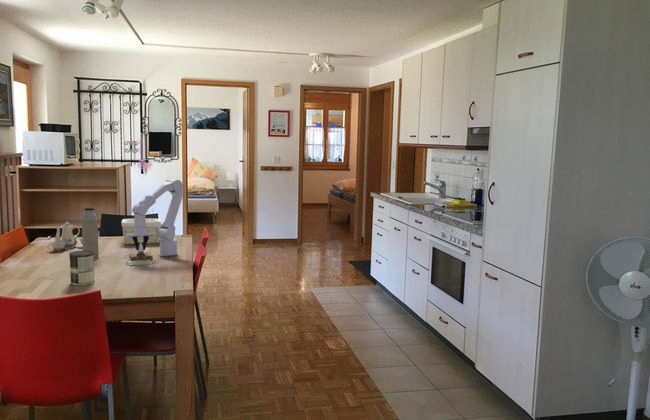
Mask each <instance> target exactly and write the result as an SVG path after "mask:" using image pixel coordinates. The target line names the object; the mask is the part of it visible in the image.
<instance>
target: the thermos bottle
mask: <svg viewBox="0 0 650 420" xmlns="http://www.w3.org/2000/svg"><path fill="white" fill-rule="evenodd" d="M83 209H84V212H83V214H82V218H81V234H82V235H81V237H82V242H83V245H82V251H84V250H87V251H93V252H94V260H96V259H99V256H100V254H99V253H100V252H99V226H98V225H99V224H98V217H97V214H96V213H95V208H93V207H86V208H83Z"/></svg>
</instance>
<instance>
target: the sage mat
mask: <svg viewBox="0 0 650 420" xmlns="http://www.w3.org/2000/svg"><path fill="white" fill-rule="evenodd" d="M126 263H127V265H128V267H132V266H134V267H135V266H145V265H153V262H152V260H137V261H131V260H128V261H127V260H126Z"/></svg>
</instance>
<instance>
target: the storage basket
mask: <svg viewBox="0 0 650 420" xmlns="http://www.w3.org/2000/svg"><path fill="white" fill-rule="evenodd" d="M145 224H146V233H154V237H152V236H150V237H149V239H148V241H147V244H146V245H148V244H150V245H151V244H160V239H159V237H158V235H157V231H158V229H159V228H160V226H161V224H162V220H161V218H145ZM121 228H122V236H123V245H135V243H134V241H133V239H132V238H126V234H133V233H135V220H134V218H123V219H122V220H121ZM137 239H138V242H139V241H143V237H137Z"/></svg>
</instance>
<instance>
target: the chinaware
mask: <svg viewBox="0 0 650 420" xmlns="http://www.w3.org/2000/svg"><path fill="white" fill-rule="evenodd" d="M60 227H61V229H60ZM60 227H59V226H56V227H55V228H56V234H55V238H54V239H55V240H54V241H51V242H49V244H48V245H47V249H48V250H50V251H51V250H52V251H55V252H62V251H61V250H63V248H66V249H67V250H68V248H69V249H75V248H76V246H77V245H78V240H77V239H78V236H79V235H80V232H81V230H80V227H79V226H77V225H72V224H71V223H69V221H67V220H66V221H65V223H64V224H62V225H60ZM75 228H77V229H78V232H77V234H75V235H74V233H73V230H75ZM60 235H61V236H60ZM79 241H80V244H81V245H82V246H83V242H82V238H81V237H80V238H79ZM49 246H51V248H49ZM74 247H75V248H74ZM66 249H65V250H66Z"/></svg>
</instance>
